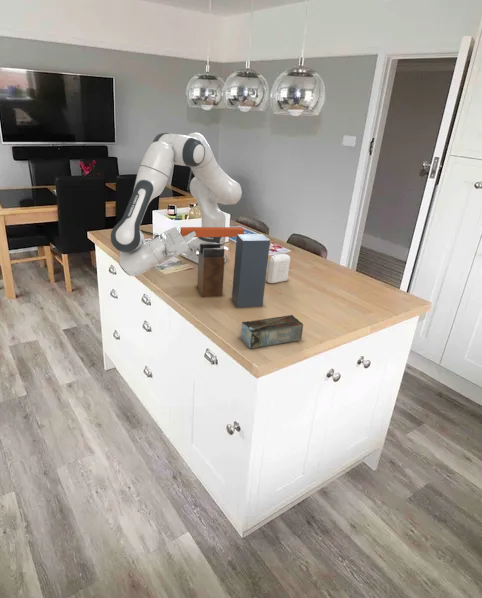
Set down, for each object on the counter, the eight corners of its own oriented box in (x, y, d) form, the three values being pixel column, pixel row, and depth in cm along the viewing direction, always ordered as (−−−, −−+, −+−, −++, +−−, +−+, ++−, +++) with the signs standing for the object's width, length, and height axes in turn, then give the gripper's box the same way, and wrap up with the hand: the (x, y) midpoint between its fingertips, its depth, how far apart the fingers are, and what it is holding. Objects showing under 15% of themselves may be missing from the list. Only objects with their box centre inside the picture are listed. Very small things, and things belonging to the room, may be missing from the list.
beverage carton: (239, 337, 136) (240, 319, 133) (290, 329, 143) (292, 312, 140) (249, 349, 129) (251, 331, 126) (302, 341, 136) (305, 323, 134)
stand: (237, 307, 156) (243, 240, 145) (231, 298, 163) (236, 234, 152) (262, 306, 159) (270, 240, 148) (255, 297, 165) (262, 234, 155)
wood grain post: (202, 297, 162) (204, 250, 155) (197, 286, 171) (199, 242, 163) (222, 296, 165) (225, 250, 157) (216, 286, 173) (218, 242, 165)
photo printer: (282, 277, 188) (286, 251, 182) (288, 280, 184) (292, 254, 179) (264, 281, 182) (267, 254, 177) (270, 284, 179) (274, 257, 174)
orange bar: (181, 237, 154) (182, 229, 152) (180, 234, 156) (180, 227, 155) (243, 236, 160) (244, 229, 159) (241, 234, 163) (242, 227, 161)
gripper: (160, 250, 144) (195, 231, 145) (154, 234, 162) (185, 217, 163) (169, 265, 148) (203, 246, 148) (162, 247, 165) (192, 230, 166)
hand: (193, 230), depth 155 cm, fingers closed on orange bar, 3 cm apart
